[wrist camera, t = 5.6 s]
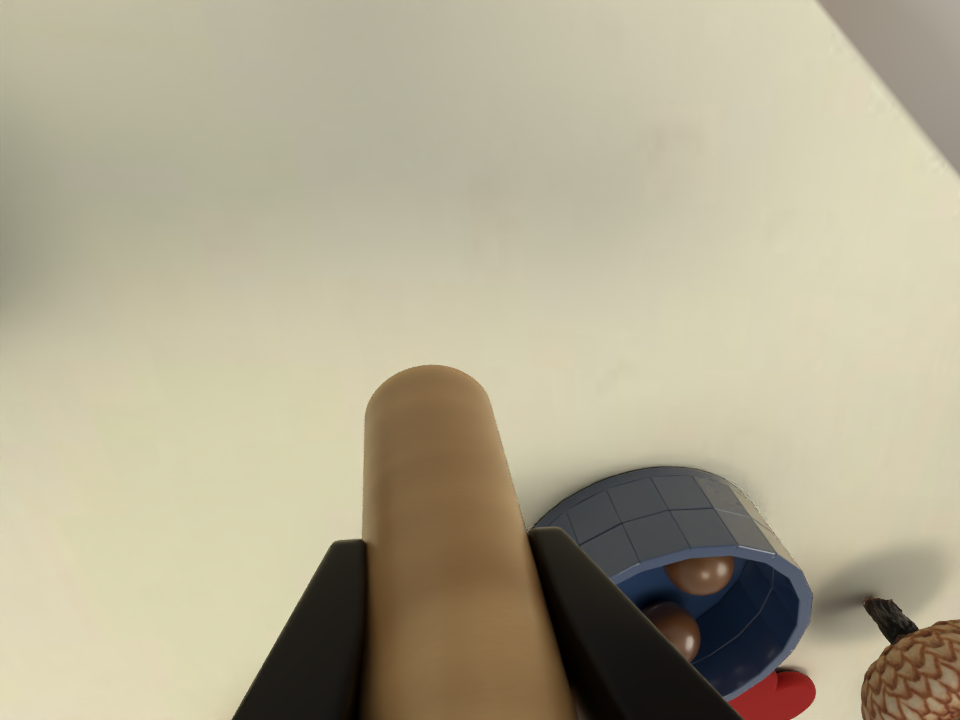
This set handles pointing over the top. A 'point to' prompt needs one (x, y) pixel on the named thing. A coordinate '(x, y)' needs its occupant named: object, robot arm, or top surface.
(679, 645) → the bead
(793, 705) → the lollipop
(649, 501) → the bowl
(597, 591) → the robot arm
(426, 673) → the stick
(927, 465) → the top surface
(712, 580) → the bead
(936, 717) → the acorn
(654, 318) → the top surface
